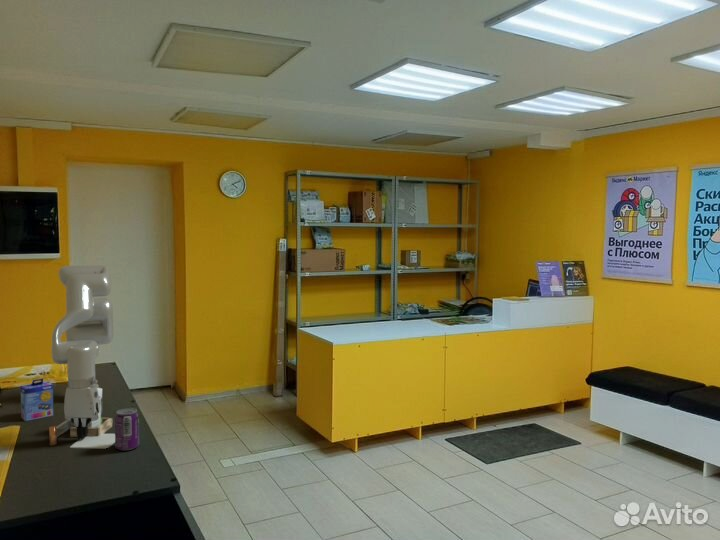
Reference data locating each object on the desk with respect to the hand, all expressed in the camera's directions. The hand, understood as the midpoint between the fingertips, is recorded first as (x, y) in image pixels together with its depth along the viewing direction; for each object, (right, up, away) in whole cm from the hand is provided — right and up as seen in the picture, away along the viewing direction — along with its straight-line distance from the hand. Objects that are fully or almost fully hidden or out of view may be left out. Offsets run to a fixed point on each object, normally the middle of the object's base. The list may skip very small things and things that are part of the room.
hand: (82, 437), depth 189 cm
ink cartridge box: (-28, +1, +23) cm, 36 cm away
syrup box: (-2, 0, +9) cm, 9 cm away
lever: (-7, 0, +4) cm, 8 cm away
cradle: (-2, 0, +9) cm, 9 cm away
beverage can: (+17, -2, -6) cm, 18 cm away
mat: (+5, -1, 0) cm, 5 cm away
